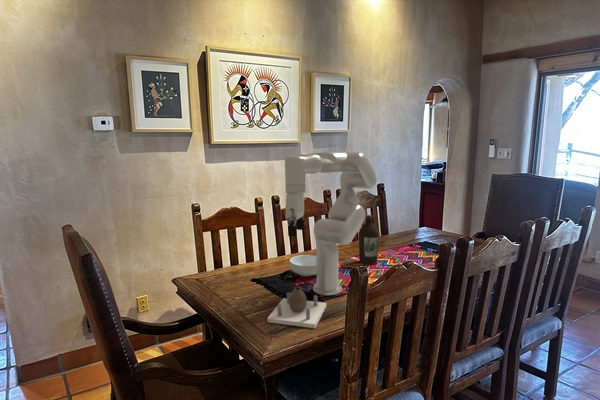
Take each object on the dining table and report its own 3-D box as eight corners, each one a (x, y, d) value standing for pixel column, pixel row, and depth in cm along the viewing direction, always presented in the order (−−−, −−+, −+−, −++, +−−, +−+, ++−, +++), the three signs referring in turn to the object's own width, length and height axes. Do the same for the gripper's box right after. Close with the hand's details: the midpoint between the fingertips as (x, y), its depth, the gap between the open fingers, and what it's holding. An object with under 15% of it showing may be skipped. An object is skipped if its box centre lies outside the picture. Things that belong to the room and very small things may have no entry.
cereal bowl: (321, 281, 182) (321, 266, 181) (286, 279, 186) (285, 264, 184) (326, 268, 199) (326, 255, 197) (293, 266, 202) (293, 253, 201)
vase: (306, 305, 154) (305, 284, 152) (307, 313, 147) (307, 291, 145) (288, 306, 153) (287, 285, 152) (289, 314, 147) (288, 292, 145)
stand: (283, 301, 161) (282, 288, 160) (326, 306, 156) (326, 293, 155) (267, 322, 144) (267, 308, 143) (315, 328, 139) (315, 313, 138)
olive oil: (355, 259, 212) (356, 213, 207) (374, 258, 213) (375, 212, 209) (361, 265, 201) (362, 218, 197) (381, 264, 203) (382, 217, 198)
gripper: (292, 185, 157) (293, 226, 160) (278, 192, 141) (279, 238, 144) (310, 185, 155) (311, 227, 158) (298, 192, 139) (299, 239, 142)
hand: (296, 232), depth 151 cm, fingers open, 9 cm apart
